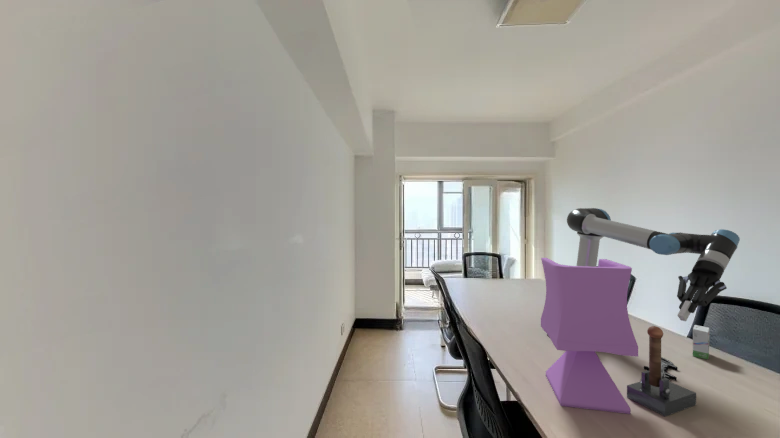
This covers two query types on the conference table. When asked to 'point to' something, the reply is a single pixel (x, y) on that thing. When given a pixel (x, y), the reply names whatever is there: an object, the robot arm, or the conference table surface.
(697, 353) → the ink box
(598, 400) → the purple pedestal vase
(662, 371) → the nameplate
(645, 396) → the press base
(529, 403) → the conference table surface
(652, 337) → the lever
